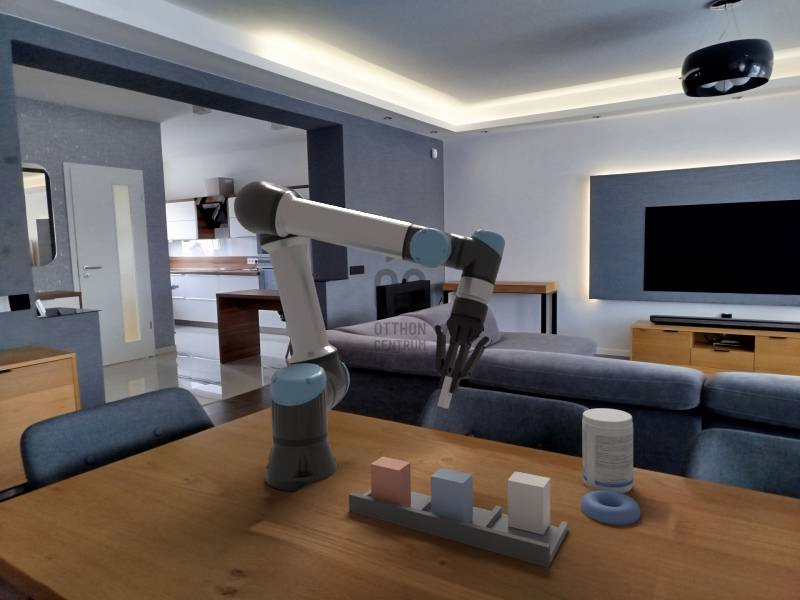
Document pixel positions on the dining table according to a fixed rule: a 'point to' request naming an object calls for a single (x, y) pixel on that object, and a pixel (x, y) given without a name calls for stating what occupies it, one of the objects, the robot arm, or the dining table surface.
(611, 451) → the supplement tub
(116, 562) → the dining table surface
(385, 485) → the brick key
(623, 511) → the doughnut
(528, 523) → the white rectangular block
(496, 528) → the grey divided tray
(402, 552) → the dining table surface
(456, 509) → the blue rectangular block
